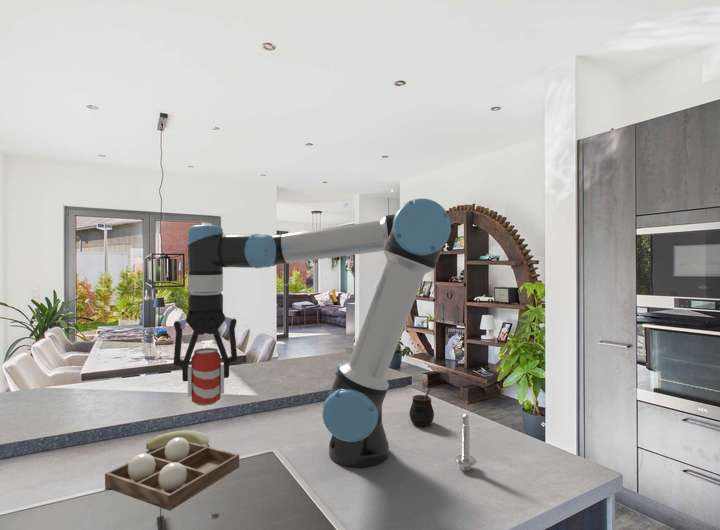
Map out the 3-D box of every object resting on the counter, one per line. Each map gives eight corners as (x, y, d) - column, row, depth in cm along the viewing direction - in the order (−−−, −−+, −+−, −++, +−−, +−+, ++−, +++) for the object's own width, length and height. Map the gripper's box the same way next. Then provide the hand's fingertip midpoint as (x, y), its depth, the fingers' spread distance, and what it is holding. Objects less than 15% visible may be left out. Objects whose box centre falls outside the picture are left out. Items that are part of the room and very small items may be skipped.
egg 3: (192, 486, 94) (192, 460, 94) (171, 499, 89) (171, 472, 89) (174, 480, 97) (174, 455, 97) (152, 493, 92) (152, 466, 92)
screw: (452, 470, 102) (457, 462, 107) (473, 475, 100) (477, 466, 104) (453, 415, 102) (458, 409, 106) (474, 418, 100) (478, 412, 104)
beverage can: (200, 408, 97) (200, 354, 97) (187, 402, 101) (186, 350, 101) (225, 402, 101) (225, 350, 101) (211, 396, 106) (211, 346, 105)
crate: (239, 467, 104) (239, 454, 104) (169, 510, 86) (169, 495, 86) (179, 450, 113) (179, 439, 113) (105, 487, 95) (104, 473, 95)
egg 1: (161, 476, 98) (161, 451, 98) (139, 488, 93) (139, 462, 93) (144, 471, 101) (144, 447, 101) (122, 482, 96) (121, 457, 96)
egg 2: (194, 458, 107) (194, 436, 107) (176, 468, 102) (175, 445, 102) (178, 454, 110) (178, 432, 109) (159, 463, 105) (159, 440, 104)
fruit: (154, 442, 119) (154, 429, 119) (212, 439, 120) (212, 427, 120) (145, 454, 112) (144, 441, 112) (206, 451, 113) (206, 438, 113)
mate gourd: (404, 425, 130) (404, 391, 130) (416, 417, 136) (416, 385, 136) (426, 430, 126) (427, 395, 126) (438, 422, 132) (438, 389, 132)
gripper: (247, 290, 107) (248, 384, 108) (161, 293, 101) (162, 392, 102) (250, 293, 100) (250, 394, 101) (157, 295, 94) (158, 403, 95)
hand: (206, 393), depth 101 cm, fingers closed on beverage can, 6 cm apart
